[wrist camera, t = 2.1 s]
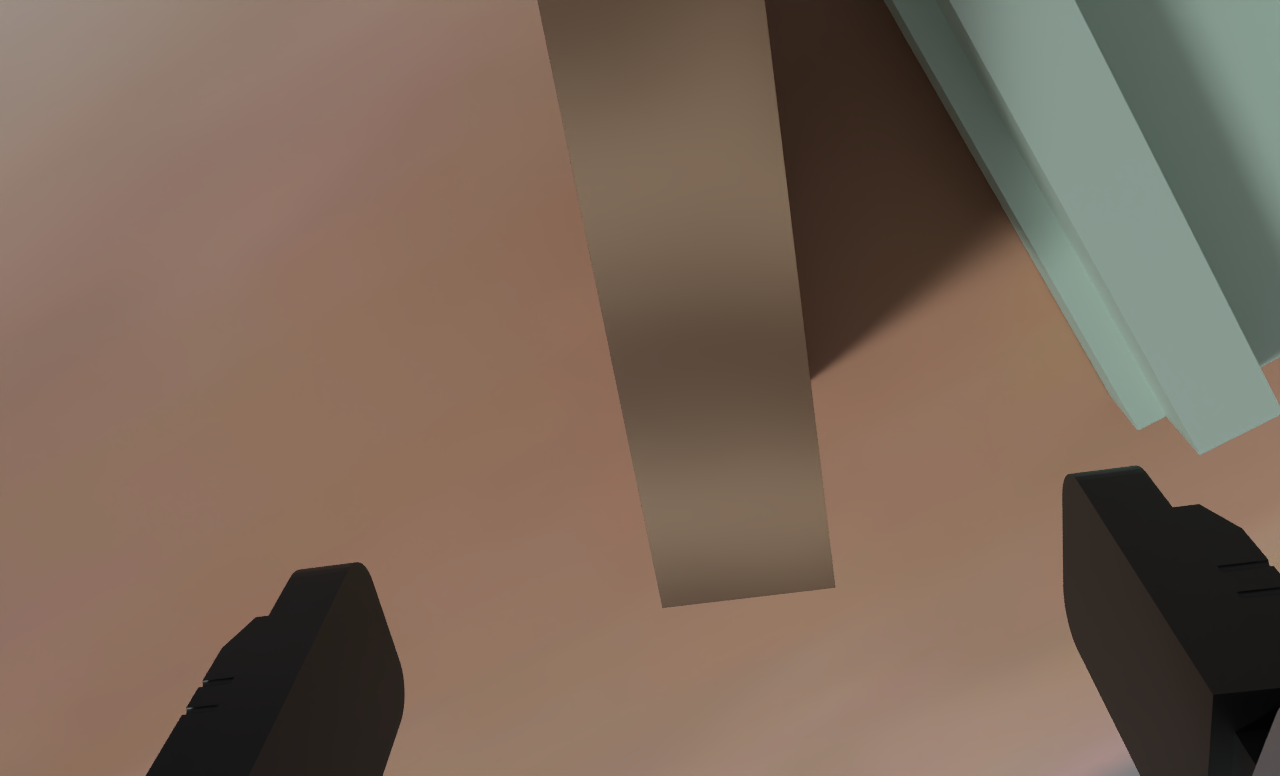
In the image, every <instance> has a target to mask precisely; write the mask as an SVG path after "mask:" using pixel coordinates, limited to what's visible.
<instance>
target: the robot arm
mask: <svg viewBox="0 0 1280 776" xmlns="http://www.w3.org/2000/svg"><path fill="white" fill-rule="evenodd" d="M1062 506H1063V590H1064V602H1065V609H1066V614H1067V619H1068V623H1069V627H1070V631H1071V634H1072V637H1073V640H1074V642H1075V645H1076V647H1077V649H1078V651H1079V653H1080V655H1081V657H1082V659H1083V661H1084V663H1085V665H1086V667H1087V669H1088V671H1089V674H1090V676H1091V678H1092V680H1093V682H1094V684H1095V686H1096V688H1097V690H1098V692H1099V694H1100V696H1101V698H1102V700H1103V702H1104V704H1105V706H1106V708H1107V710H1108V712H1109V714H1110V716H1111V718H1112V720H1113V722H1114V724H1115V726H1116V728H1117V730H1118V732H1119V734H1120V736H1121V738H1122V740H1123V742H1124V744H1125V746H1126V748H1127V750H1128V752H1129V754H1130V756H1131V758H1132V760H1133V762H1134V764H1135V766H1136V768H1137V770H1138V772H1139V774H1140V776H1280V573H1279V572H1278V571H1277V570H1276V568H1275V567H1274V566H1270V565H1269V562H1268V559H1267V558H1266V556H1265V555H1264V554H1263V553H1262V552H1261V550H1260V549H1259V548H1258V547H1257V546H1256V544H1255V543H1254V542H1253V541H1252V540H1251V539H1250V537H1249V536H1248V535H1247V534H1246V533H1245V531H1244V530H1243V529H1242V528H1240V527H1238V526H1237V525H1235V524H1233V523H1231V522H1230V521H1228V520H1226V519H1224V518H1223V517H1221V516H1219V515H1217V514H1216V513H1214V512H1212V511H1210V510H1208V509H1207V508H1205V507H1203V506H1201V505H1200V504H1197V505H1189V506H1181V507H1172V506H1171V505H1170V503H1169V502H1168V501H1167V499H1166V498H1165V497H1164V496H1163V494H1162V493H1161V492H1160V490H1159V489H1158V488H1157V486H1156V485H1155V484H1154V482H1153V481H1152V480H1151V478H1150V477H1149V476H1148V474H1147V473H1146V472H1145V471H1144V470H1143V468H1141V467H1140V466H1129V467H1121V468H1113V469H1105V470H1097V471H1089V472H1081V473H1074V474H1068V475H1067V476H1066V477H1065V479H1064V483H1063V492H1062ZM186 709H187V713H186V715H182V716H181V718H180V719H179V721H178V723H177V724H176V726H175V728H174V729H173V731H172V733H171V734H170V736H169V738H168V739H167V741H166V743H165V744H164V746H163V748H162V749H161V751H160V753H159V754H158V756H157V758H156V759H155V761H154V763H153V764H152V766H151V768H150V769H149V771H148V773H147V774H146V776H383V773H384V770H385V767H386V764H387V761H388V758H389V755H390V752H391V749H392V746H393V743H394V740H395V737H396V734H397V731H398V728H399V725H400V722H401V719H402V715H403V709H404V679H403V673H402V668H401V664H400V661H399V658H398V655H397V652H396V649H395V646H394V643H393V640H392V637H391V634H390V631H389V628H388V625H387V622H386V619H385V616H384V613H383V610H382V607H381V605H380V602H379V599H378V596H377V593H376V590H375V587H374V584H373V581H372V578H371V576H370V574H369V572H368V570H367V569H366V567H365V566H364V565H363V564H361V563H359V562H356V563H348V564H340V565H332V566H324V567H316V568H308V569H300V570H297V571H295V572H294V573H293V574H292V576H291V577H290V579H289V580H288V582H287V584H286V586H285V588H284V589H283V591H282V593H281V595H280V596H279V598H278V600H277V602H276V604H275V605H274V607H273V609H272V611H271V613H270V614H269V616H262V617H256V618H255V619H254V620H252V621H251V622H250V623H249V624H248V625H247V626H246V627H245V628H244V629H242V630H241V631H240V632H239V633H238V634H237V635H236V636H235V637H234V638H233V639H231V640H230V641H229V642H228V643H227V644H226V645H225V646H224V647H223V648H222V649H221V651H220V652H219V654H218V656H217V657H216V659H215V661H214V662H213V664H212V666H211V667H210V669H209V671H208V672H207V674H206V676H205V677H204V679H203V687H199V688H198V689H197V691H196V692H195V694H194V696H193V697H192V699H191V701H190V702H189V704H188V706H187V708H186Z"/></svg>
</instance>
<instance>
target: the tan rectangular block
mask: <svg viewBox="0 0 1280 776" xmlns="http://www.w3.org/2000/svg"><path fill="white" fill-rule="evenodd" d="M538 5H539V10H540V15H541V20H542V25H543V30H544V34H545V39H546V44H547V49H548V54H549V59H550V64H551V68H552V73H553V78H554V83H555V88H556V93H557V98H558V102H559V107H560V112H561V117H562V122H563V127H564V132H565V136H566V141H567V146H568V151H569V156H570V161H571V166H572V170H573V175H574V180H575V185H576V190H577V195H578V200H579V204H580V209H581V214H582V219H583V224H584V229H585V234H586V239H587V243H588V248H589V253H590V258H591V263H592V268H593V273H594V277H595V282H596V287H597V292H598V297H599V302H600V307H601V311H602V316H603V321H604V326H605V331H606V336H607V341H608V345H609V350H610V355H611V360H612V365H613V370H614V375H615V379H616V384H617V389H618V394H619V399H620V404H621V409H622V413H623V418H624V423H625V428H626V433H627V438H628V443H629V447H630V452H631V457H632V462H633V467H634V472H635V477H636V481H637V486H638V491H639V496H640V501H641V506H642V511H643V515H644V520H645V525H646V530H647V535H648V540H649V545H650V549H651V554H652V559H653V564H654V569H655V574H656V579H657V583H658V588H659V593H660V598H661V603H662V608H666V607H675V606H683V605H692V604H700V603H708V602H717V601H725V600H734V599H742V598H751V597H759V596H768V595H776V594H785V593H793V592H802V591H810V590H819V589H827V588H835V580H834V572H833V564H832V556H831V547H830V539H829V531H828V522H827V514H826V506H825V497H824V489H823V481H822V472H821V464H820V456H819V447H818V439H817V431H816V423H815V414H814V406H813V398H812V389H811V381H810V373H809V364H808V356H807V348H806V339H805V331H804V323H803V314H802V306H801V298H800V290H799V281H798V273H797V265H796V256H795V248H794V240H793V231H792V223H791V215H790V206H789V198H788V190H787V181H786V173H785V165H784V157H783V148H782V140H781V132H780V123H779V115H778V107H777V98H776V90H775V82H774V73H773V65H772V57H771V48H770V40H769V32H768V24H767V15H766V7H765V0H538Z"/></svg>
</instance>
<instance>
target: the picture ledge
mask: <svg viewBox="0 0 1280 776" xmlns="http://www.w3.org/2000/svg"><path fill="white" fill-rule="evenodd" d="M883 1H884V2H885V4H886V6H887V8H888V9H889V11H890V13H891V15H892V16H893V18H894V20H895V22H896V23H897V25H898V27H899V28H900V30H901V32H902V34H903V35H904V37H905V39H906V41H907V42H908V44H909V46H910V48H911V49H912V51H913V53H914V55H915V56H916V58H917V60H918V62H919V63H920V65H921V67H922V69H923V70H924V72H925V74H926V76H927V77H928V79H929V81H930V82H931V84H932V86H933V88H934V89H935V91H936V93H937V95H938V96H939V98H940V100H941V102H942V103H943V105H944V107H945V109H946V110H947V112H948V114H949V116H950V117H951V119H952V121H953V123H954V124H955V126H956V128H957V130H958V131H959V133H960V135H961V136H962V138H963V140H964V142H965V143H966V145H967V147H968V149H969V150H970V152H971V154H972V156H973V157H974V159H975V161H976V163H977V164H978V166H979V168H980V170H981V171H982V173H983V175H984V177H985V178H986V180H987V182H988V184H989V185H990V187H991V189H992V190H993V192H994V194H995V196H996V197H997V199H998V201H999V203H1000V204H1001V206H1002V208H1003V210H1004V211H1005V213H1006V215H1007V217H1008V218H1009V220H1010V222H1011V224H1012V225H1013V227H1014V229H1015V231H1016V232H1017V234H1018V236H1019V238H1020V239H1021V241H1022V243H1023V244H1024V246H1025V248H1026V250H1027V251H1028V253H1029V255H1030V257H1031V258H1032V260H1033V262H1034V264H1035V265H1036V267H1037V269H1038V271H1039V272H1040V274H1041V276H1042V278H1043V279H1044V281H1045V283H1046V285H1047V286H1048V288H1049V290H1050V292H1051V293H1052V295H1053V297H1054V298H1055V300H1056V302H1057V304H1058V305H1059V307H1060V309H1061V311H1062V312H1063V314H1064V316H1065V318H1066V319H1067V321H1068V323H1069V325H1070V326H1071V328H1072V330H1073V332H1074V333H1075V335H1076V337H1077V339H1078V340H1079V342H1080V344H1081V346H1082V347H1083V349H1084V351H1085V352H1086V354H1087V356H1088V358H1089V359H1090V361H1091V363H1092V365H1093V366H1094V368H1095V370H1096V372H1097V373H1098V375H1099V377H1100V379H1101V380H1102V382H1103V384H1104V386H1105V387H1106V389H1107V391H1108V393H1109V394H1110V396H1111V397H1112V399H1113V400H1114V401H1115V402H1116V404H1117V405H1118V406H1119V407H1120V409H1121V410H1122V411H1123V412H1124V414H1125V415H1126V416H1127V418H1128V419H1129V420H1130V421H1131V423H1132V424H1133V425H1134V426H1135V428H1136V429H1137V430H1140V429H1142V428H1144V427H1146V426H1148V425H1150V424H1152V423H1154V422H1156V421H1158V420H1160V419H1161V418H1163V417H1165V416H1166V417H1167V418H1168V419H1169V420H1170V421H1171V422H1172V424H1173V425H1174V426H1175V427H1176V428H1177V429H1178V431H1179V432H1180V433H1181V434H1182V435H1183V436H1184V438H1185V439H1186V440H1187V441H1188V442H1189V443H1190V445H1191V446H1192V447H1193V448H1194V449H1195V450H1196V451H1197V453H1198V454H1199V455H1201V454H1203V453H1205V452H1207V451H1209V450H1211V449H1213V448H1215V447H1217V446H1219V445H1221V444H1223V443H1225V442H1227V441H1229V440H1231V439H1233V438H1235V437H1237V436H1239V435H1241V434H1243V433H1245V432H1247V431H1249V430H1251V429H1253V428H1255V427H1257V426H1259V425H1261V424H1263V423H1265V422H1267V421H1269V420H1271V419H1273V418H1275V417H1277V416H1279V415H1280V405H1279V403H1278V401H1277V399H1276V397H1275V395H1274V394H1273V392H1272V390H1271V388H1270V386H1269V384H1268V382H1267V380H1266V378H1265V376H1264V374H1263V372H1262V370H1261V368H1260V367H1262V366H1264V365H1266V364H1268V363H1270V362H1271V361H1273V360H1275V359H1277V358H1279V357H1280V0H883Z"/></svg>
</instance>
